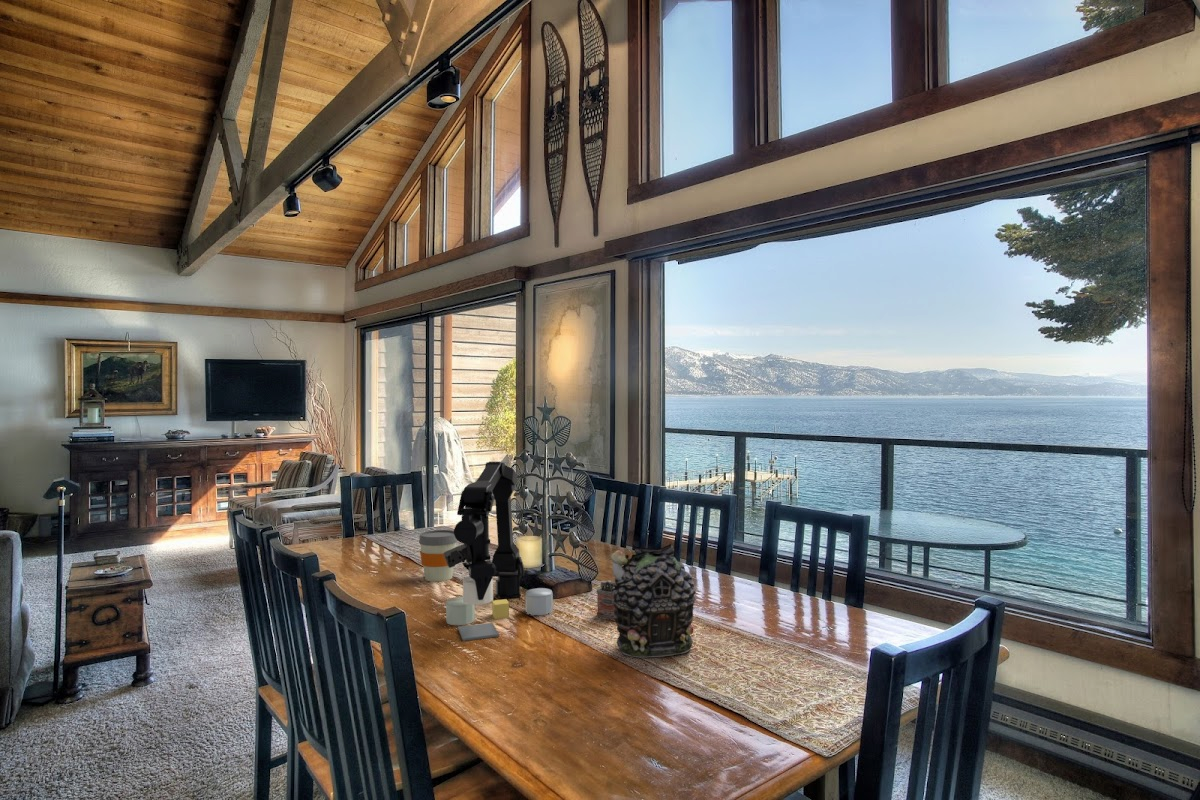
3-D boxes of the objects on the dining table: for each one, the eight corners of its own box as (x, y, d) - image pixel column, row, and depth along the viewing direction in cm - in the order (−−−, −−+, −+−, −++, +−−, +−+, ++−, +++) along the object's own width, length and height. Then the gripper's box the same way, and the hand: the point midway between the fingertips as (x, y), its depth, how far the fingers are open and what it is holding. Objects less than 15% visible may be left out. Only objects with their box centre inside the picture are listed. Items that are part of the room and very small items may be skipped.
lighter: (594, 617, 182) (594, 580, 182) (600, 613, 185) (600, 577, 185) (620, 621, 178) (620, 584, 178) (626, 617, 181) (626, 581, 181)
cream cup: (489, 594, 175) (489, 573, 175) (495, 602, 168) (494, 581, 168) (461, 597, 173) (461, 576, 172) (465, 606, 166) (465, 584, 166)
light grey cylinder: (548, 605, 192) (548, 587, 192) (555, 613, 185) (555, 594, 185) (523, 608, 189) (523, 589, 189) (529, 616, 182) (529, 597, 182)
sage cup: (472, 614, 184) (472, 595, 184) (476, 623, 177) (476, 602, 177) (445, 618, 182) (444, 598, 182) (448, 626, 175) (448, 605, 175)
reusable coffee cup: (416, 575, 226) (416, 531, 226) (453, 571, 231) (452, 528, 231) (423, 585, 214) (422, 538, 214) (461, 580, 220) (461, 535, 219)
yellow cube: (506, 613, 186) (506, 599, 186) (509, 617, 182) (509, 603, 182) (492, 614, 185) (492, 600, 185) (494, 619, 181) (494, 604, 181)
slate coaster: (492, 624, 176) (492, 622, 176) (498, 636, 168) (498, 634, 168) (458, 629, 173) (458, 626, 173) (463, 641, 164) (462, 638, 164)
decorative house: (622, 666, 149) (621, 555, 148) (604, 642, 163) (603, 541, 163) (707, 656, 154) (707, 549, 154) (682, 633, 169) (682, 536, 168)
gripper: (441, 530, 176) (442, 588, 176) (450, 545, 159) (450, 610, 159) (483, 527, 180) (483, 584, 180) (496, 541, 162) (496, 604, 163)
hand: (478, 595), depth 170 cm, fingers closed on cream cup, 7 cm apart
